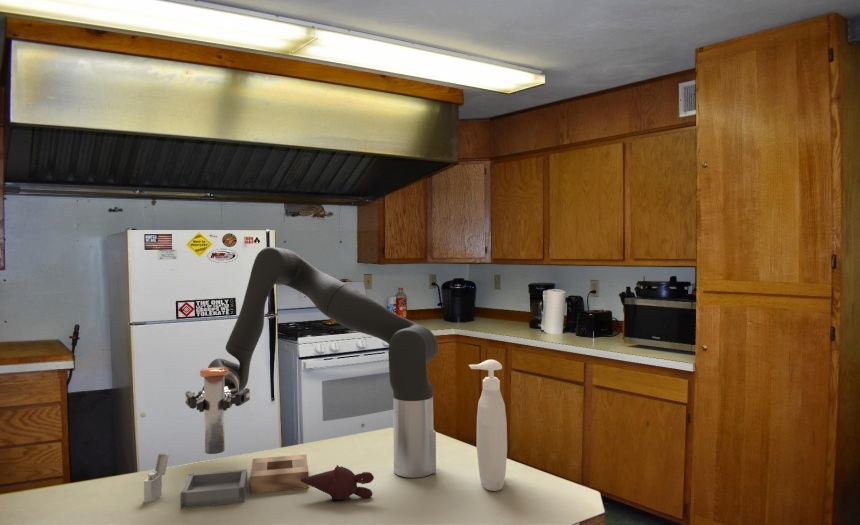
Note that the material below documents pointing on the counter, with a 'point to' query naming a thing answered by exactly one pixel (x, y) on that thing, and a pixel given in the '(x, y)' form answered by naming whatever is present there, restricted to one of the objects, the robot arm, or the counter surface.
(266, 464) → the hitch block
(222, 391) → the pin
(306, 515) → the counter surface
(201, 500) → the tray
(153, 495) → the lighter
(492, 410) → the soap bottle
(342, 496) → the icecream
